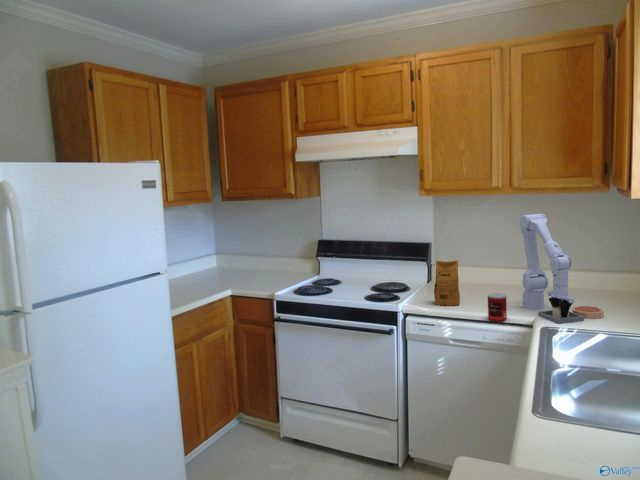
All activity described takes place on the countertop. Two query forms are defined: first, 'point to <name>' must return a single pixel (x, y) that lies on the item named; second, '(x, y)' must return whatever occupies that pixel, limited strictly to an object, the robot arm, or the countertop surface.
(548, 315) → the parts tray
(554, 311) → the stone block
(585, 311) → the bowl
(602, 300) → the countertop surface
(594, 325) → the countertop surface
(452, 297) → the coffee package
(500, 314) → the canned food
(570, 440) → the countertop surface
